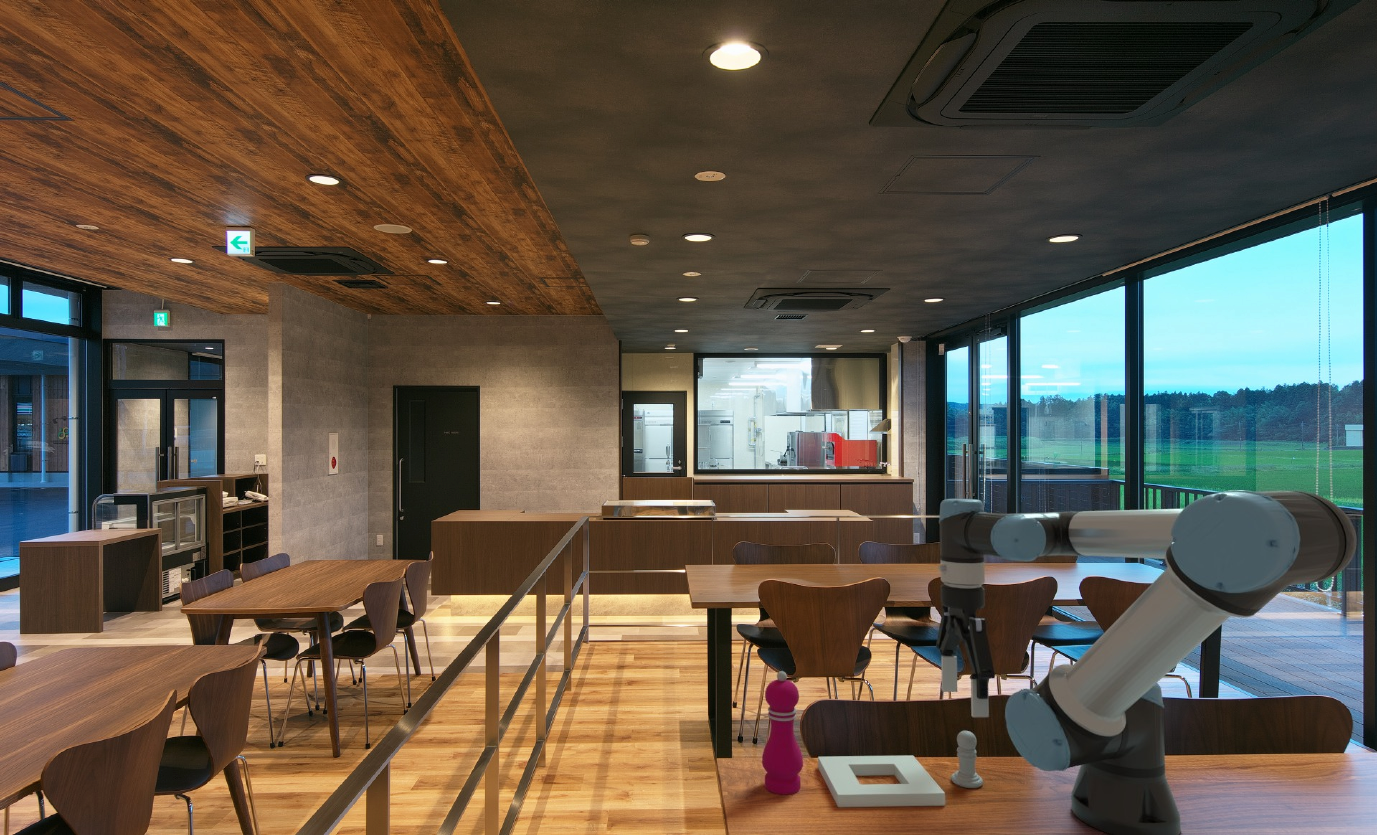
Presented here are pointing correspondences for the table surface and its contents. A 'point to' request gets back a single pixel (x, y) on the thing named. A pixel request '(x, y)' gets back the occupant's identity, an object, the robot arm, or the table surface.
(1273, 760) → the table surface
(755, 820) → the table surface
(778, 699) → the pepper mill
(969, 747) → the chess piece
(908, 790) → the socket board
